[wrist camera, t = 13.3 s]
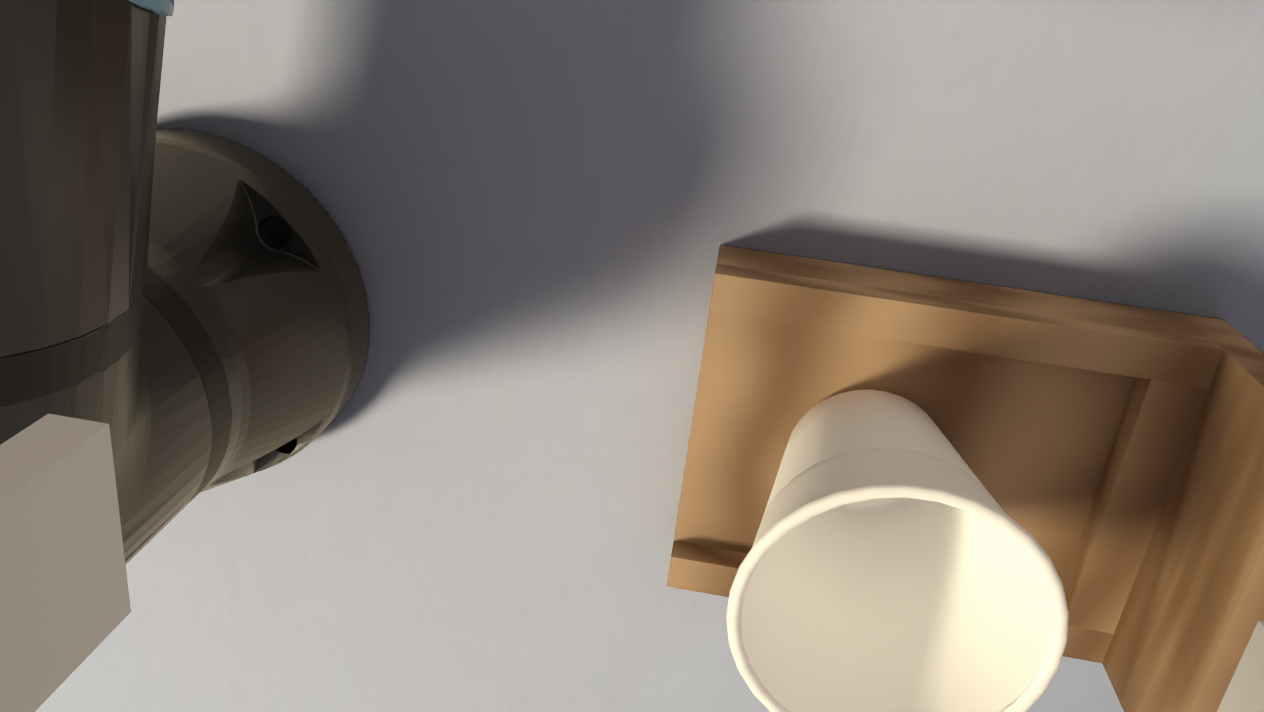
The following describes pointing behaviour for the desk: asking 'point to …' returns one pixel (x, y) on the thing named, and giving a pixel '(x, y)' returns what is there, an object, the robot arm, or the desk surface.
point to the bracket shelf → (1012, 444)
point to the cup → (891, 576)
